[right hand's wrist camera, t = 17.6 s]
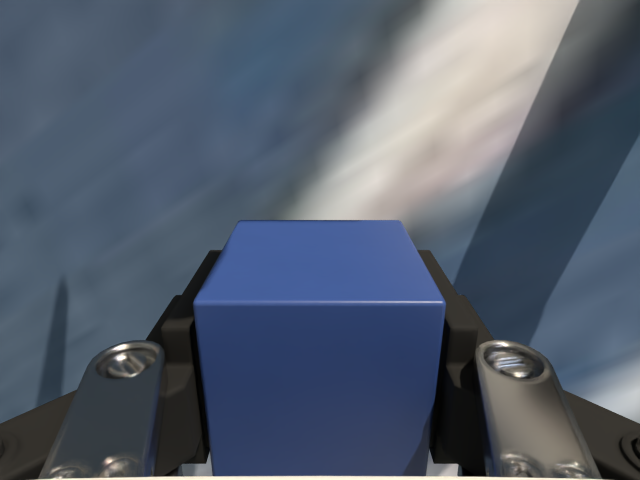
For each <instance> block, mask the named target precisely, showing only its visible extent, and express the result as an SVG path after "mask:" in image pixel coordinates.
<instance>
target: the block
mask: <svg viewBox="0 0 640 480" xmlns="http://www.w3.org/2000/svg"><path fill="white" fill-rule="evenodd" d="M193 309H194V318H195V326H196V335H197V344H198V352H199V361H200V369H201V378H202V386H203V395H204V404H205V412H206V421H207V429H208V438H209V447H210V455H211V464H212V472H213V476H426V470H427V461H428V453H429V444H430V436H431V428H432V419H433V411H434V402H435V394H436V385H437V377H438V368H439V360H440V352H441V343H442V335H443V326H444V318H445V309H446V302H445V300H444V298H443V296H442V295H441V293H440V291H439V289H438V287H437V286H436V284H435V282H434V280H433V278H432V277H431V275H430V273H429V271H428V269H427V268H426V266H425V264H424V262H423V260H422V259H421V257H420V255H419V253H418V251H417V249H416V248H415V246H414V244H413V242H412V240H411V239H410V237H409V235H408V233H407V231H406V230H405V228H404V226H403V224H402V222H401V221H399V220H240V221H238V223H237V225H236V227H235V228H234V230H233V232H232V234H231V236H230V237H229V239H228V241H227V243H226V244H225V246H224V248H223V250H222V252H221V253H220V255H219V257H218V259H217V260H216V262H215V264H214V266H213V268H212V269H211V271H210V273H209V275H208V276H207V278H206V280H205V282H204V284H203V285H202V287H201V289H200V291H199V292H198V294H197V296H196V298H195V300H194V302H193Z"/></svg>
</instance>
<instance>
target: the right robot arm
mask: <svg viewBox="0 0 640 480" xmlns="http://www.w3.org/2000/svg"><path fill="white" fill-rule="evenodd" d="M417 251H418V253H419V255H420V257H421V259H422V260H423V262H424V264H425V266H426V268H427V269H428V271H429V273H430V275H431V277H432V278H433V280H434V282H435V284H436V286H437V287H438V289H439V291H440V293H441V295H442V296H443V298H444V300H445V302H446V309H445V318H444V326H443V335H442V343H441V352H440V360H439V368H438V377H437V385H436V394H435V402H434V411H433V419H432V428H431V436H430V444H429V449H430V452H431V456H432V459H433V462H434V464H459V466H458V474H457V475H458V477H438V476H202V477H182V475H183V474H182V466H181V464H206V462H207V458H208V455H209V452H210V447H209V438H208V429H207V421H206V412H205V404H204V395H203V386H202V378H201V369H200V361H199V352H198V344H197V335H196V326H195V318H194V309H193V302H194V300H195V298H196V296H197V294H198V292H199V291H200V289H201V287H202V285H203V284H204V282H205V280H206V278H207V276H208V275H209V273H210V271H211V269H212V268H213V266H214V264H215V262H216V260H217V259H218V257H219V255H220V253H221V252H222V250H210V251H209V253H208V254H207V256H206V257H205V259H204V261H203V262H202V264H201V265H200V267H199V269H198V270H197V272H196V273H195V275H194V276H193V278H192V280H191V281H190V283H189V284H188V286H187V288H186V289H185V291H184V292H183V294H182V295H176V296H175V297H174V298H173V299H172V301H171V302H170V304H169V305H168V307H167V308H166V310H165V311H164V313H163V314H162V316H161V317H160V319H159V320H158V322H157V323H156V325H155V326H154V328H153V329H152V331H151V332H150V334H149V335H148V337H147V338H146V340H133V341H128V342H123V343H119V344H117V345H114V346H111V347H109V348H107V349H105V350H103V351H102V352H100V353H99V354H98V355H96V356H95V357H94V358H93V359H92V360H91V362H90V363H89V364H88V366H87V368H86V371H85V373H84V375H83V377H82V380H81V382H80V384H79V387H78V389H77V390H75V391H73V392H71V393H68V394H66V395H64V396H62V397H59V398H57V399H55V400H53V401H50V402H48V403H46V404H44V405H41V406H39V407H37V408H35V409H32V410H30V411H28V412H26V413H23V414H21V415H19V416H17V417H14V418H12V419H10V420H8V421H5V422H3V423H1V424H0V480H640V424H639V423H637V422H634V421H632V420H630V419H628V418H625V417H623V416H621V415H619V414H616V413H614V412H612V411H610V410H607V409H605V408H603V407H601V406H598V405H596V404H594V403H592V402H589V401H587V400H585V399H583V398H580V397H578V396H576V395H574V394H571V393H569V392H567V391H565V390H563V389H562V387H561V384H560V382H559V380H558V377H557V375H556V373H555V371H554V368H553V366H552V364H551V363H550V362H549V360H548V359H547V358H546V357H545V356H544V355H542V354H541V353H540V352H538V351H537V350H535V349H533V348H531V347H529V346H526V345H523V344H521V343H517V342H512V341H507V340H494V339H493V337H492V336H491V334H490V333H489V331H488V330H487V328H486V327H485V325H484V324H483V322H482V321H481V319H480V318H479V316H478V315H477V313H476V312H475V310H474V308H473V307H472V305H471V304H470V302H469V301H468V299H467V298H466V297H465V296H464V295H458V294H457V293H456V291H455V289H454V288H453V286H452V285H451V283H450V282H449V280H448V278H447V277H446V275H445V274H444V272H443V270H442V269H441V267H440V266H439V264H438V262H437V261H436V259H435V258H434V256H433V255H432V253H431V251H430V250H417Z"/></svg>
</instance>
